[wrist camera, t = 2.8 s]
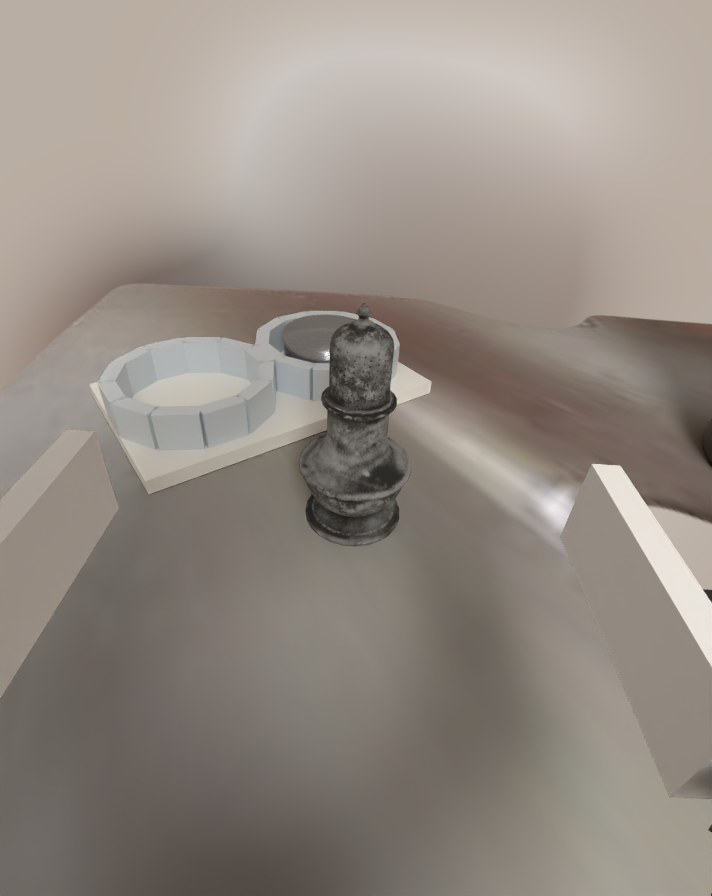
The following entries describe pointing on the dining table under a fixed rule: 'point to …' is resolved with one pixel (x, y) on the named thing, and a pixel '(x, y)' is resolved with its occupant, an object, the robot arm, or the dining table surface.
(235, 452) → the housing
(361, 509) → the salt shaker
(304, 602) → the dining table surface
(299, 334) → the grey metallic domed disc
